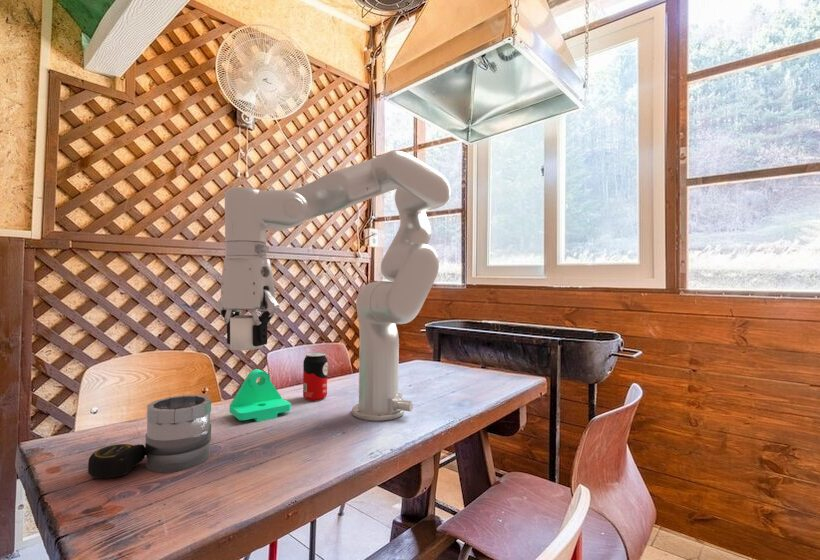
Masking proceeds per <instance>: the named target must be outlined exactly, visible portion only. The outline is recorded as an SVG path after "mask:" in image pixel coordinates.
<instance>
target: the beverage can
mask: <svg viewBox="0 0 820 560" xmlns="http://www.w3.org/2000/svg"><path fill="white" fill-rule="evenodd" d="M302 363H303V366H302V367H303V370H302V371H303V372H302V373H303V376H302V377H303V378H302V383H303V384H302V386H303V388H302V396H303V398H304V399H305V400H307V401H310V402H319V401H323V400H324V399H325V398H326V397H327V396H328V363H329V362H328V358H327V357H326V353H325V352H317V351H316V352H309V353H306V354H305V357H304V359H303V362H302Z"/></svg>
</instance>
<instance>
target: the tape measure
mask: <svg viewBox="0 0 820 560" xmlns="http://www.w3.org/2000/svg"><path fill="white" fill-rule="evenodd" d="M146 456H147V452H146V451H145V444H129V443H119V444H112V445H108V446H104V447H102V448H100V449H97V450H96V451H94V452H93V453H91V455H90V457H89V459H88V463H87V472H88V473H87V474H89V476H90V477H91V478H94V479H100V480H101V479H109V478H116V477H120V476H121V477H122V476H124V475H126V474H128V473H129V472H130V471H131V470H132V469H133V468H134V467H135V466H137V465H138V464H140V463H141V462H143V460H145V457H146Z"/></svg>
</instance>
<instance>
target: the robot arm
mask: <svg viewBox="0 0 820 560" xmlns="http://www.w3.org/2000/svg"><path fill="white" fill-rule="evenodd" d="M449 183H450V182H449V181H448V180H447V178H446V177H445V176H444V175H443V173H441V172H439V171H438V170H437V169H435V168H433V167H431V166H430V165H428V164H426V163H425V162H423V161H422V160H420V159H418V158H417V157H415V156H413V155H411V154H409V153H407V152H405V151H401V150H397V149H396V150H395V149H394V150H390V151H388V152H385V153H383V154H381V155H379V156H376V157H374V158H371V159H368V160H365V161H362V162H359V163H356V164H352V165H350V166H347V167H344V168H340V169H338V170H335V171H332V172H329V173H327V174H325V175H322V176H321V177H319V178H317V179H315V180H313V181H311V182H309V183H307V184H304V185H302V186H299V187H297V188H294V189H292V190H291V189H280V190H279V189H277V190H276V189H274V190H271V189H270V190H267V189H266V190H265V189H263V190H262V189H258V188H254V187H249V186H235V187H234V186H233V187H230V188H228V189H227V190H226V191H225V193H224V251H225V252H224V258H225V259H223V264H222V270H221V283H220V298H218V300H217V302H216V304H215V306H216V308H217V310H218V311H219V312H220V314H221V316H222V318H223V321H224V324H226V343H227V345H230V318H231V317H234V316H237V315H242V313H243V311H251V315H253V318H254V321H255V324H256V325H253V346H261V345H263V346H264V345H267V344H268V325H269V324H270V323H271V319H272V318H273V317H274V315H275V313H276V312H278V310H279V309H280V304H279V303H278V301H277V300H276V296H275V295H276V293H275V291H276V290H275V283H274V282H275V280H274V274H273V268H272V262H271V260H270V258H268V257H267V253H268V252H269V250H270V248H269V246H268V245H267V231H270V232H281V231H284V230H288V229H292V228H296V227H298V226H300V225H302V224H303V223H304V222H306V221H309V220H312V219H314V218H316V217H320V216H323V215H328V214H332V213H335V212H339V211H342V210H345V209H348V208H351V207H353V206H356V205H358V204H360V203H361V204H362V203H363V202H365V201H367V200H370V199H373V198H375V197H378V196H380V195H383V194H386V193H389V192H392V191H394V190H395V193H394V202H395V206H396V209H397V212H398V215H399V220H400V221H399V222H400V223H399V226H398V227H399V228H398V230H397V233H396V235H395V236H394V237H393V240H392V242H391V243H390V245H389V247H388V248H387V251H386V252H385V254H384V255H383V257H382V260H381V264H380V272H381V274H382V276H383V277H384V279H386V280H387V281H374V282H370V283H367V284H366V285H364V286H362V287H361V289H360V290H359V292H358V293H357V297H356V300H355V301H356V302H355V303H356V306H355V307H356V315H357V319H358V329H359V332H358V333H359V348H358V349H359V352H358V353H359V354H358V355H359V356H358V357H359V358H358V359H359V361H358V363H359V364H358V403H355V405H353V407H352V409H351V414H352V416H354V417H356V418H357V419H360V420H366V421H374V422H375V421H377V422H378V421H389V420H394V419H398V418H400V417H401V416H403V415H404V414H405V412H411V413H412V412H413V408H414V404H413V401H412V400H408V399H404V398H403V393H402V392H399V361H400V358H399V357H400V356H399V353H400V352H399V351H400V339H399V331H398V327H397V325H403V324H404V325H405V324H408V323H410V322H412V321H413V320H414V319H415V318H416V317H417V315H418V314H419V313H420V312H421V309H422V308H423V306H424V303H426V302H425V301H426V300H427V297H428V295H429V293H430V291H431V289H432V287H433V285H434V283H435V280H436V278H437V276H438V273H439V267H440V266H439V265H440V261H439V255H438V254H437V251H436V250H435V249H434V248H433V247H432V246H431V245H430V244H429V242H430V240H431V237H432V228H431V224H430V221H429V219H428V216H427V211H430V210H436V209H439V208H441V207H443V206H445V205H446V204H447V203H448V201H449V200H450V197H451V187H450V184H449Z"/></svg>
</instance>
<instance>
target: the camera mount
mask: <svg viewBox="0 0 820 560" xmlns="http://www.w3.org/2000/svg"><path fill="white" fill-rule="evenodd" d="M258 378H260V379H259V381H258V382H257V380H258ZM278 391H279V390H278V389H277V388H276V387H275V385H274V384H273V382H272V381H271V377H270V375H269V374H268V372H266V371H263V370H261V369H259V368H258V369H257V368H256V369H253V370H251V371H249V373H248V374H247V376H246V377H245V379H244V381H243V383H242V385H241V386H240V387H239V389H238V390H237V393H236V394H235V396H234V397H233V399H232V401H231V402H230V404H229V414H231V415H232V416H234V418H236V419H237V420H239V421H246V420H251V419H253V420H254V421H255V422H258V423H259V422H262V421H267V420H271V419H275V418H276V419H277V418H278V414H282V413H286V412H290V411H291V410H292V403H291V402H290V401H288V400H286V399H284V398H283V397H282V396H281V394H280V393H279V392H278Z"/></svg>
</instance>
